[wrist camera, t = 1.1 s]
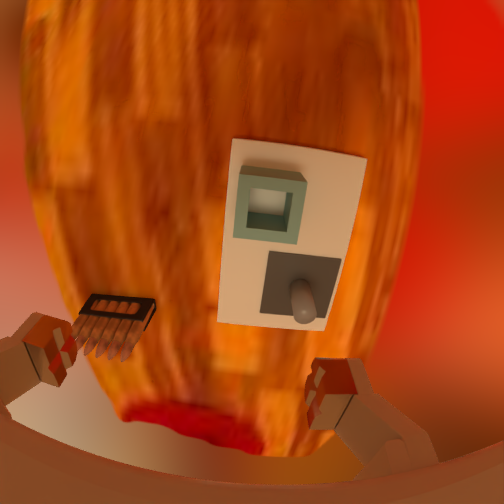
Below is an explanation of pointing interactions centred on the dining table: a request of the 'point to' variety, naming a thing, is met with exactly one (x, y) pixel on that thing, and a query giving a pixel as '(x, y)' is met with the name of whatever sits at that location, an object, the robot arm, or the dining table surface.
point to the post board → (289, 255)
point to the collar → (268, 224)
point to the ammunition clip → (112, 323)
